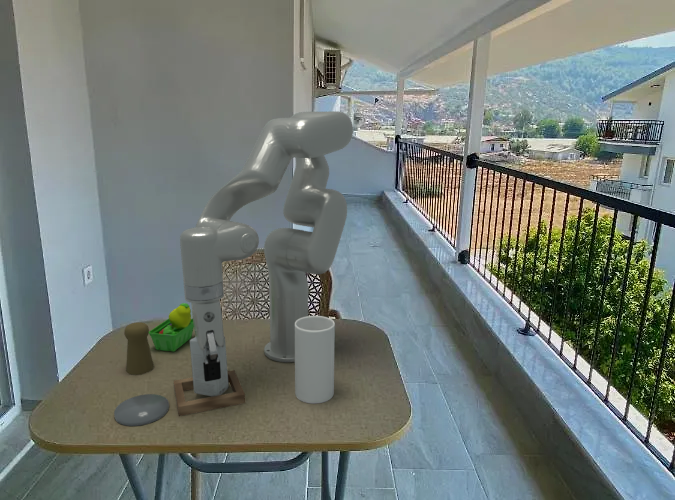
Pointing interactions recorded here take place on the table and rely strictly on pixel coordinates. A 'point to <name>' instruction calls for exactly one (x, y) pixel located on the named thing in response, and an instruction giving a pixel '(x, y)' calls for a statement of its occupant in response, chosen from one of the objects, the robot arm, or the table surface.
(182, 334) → the fruit basket
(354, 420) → the table surface
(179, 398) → the walnut holder
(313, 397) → the cup
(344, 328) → the table surface
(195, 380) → the skincare box
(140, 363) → the cork
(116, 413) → the slate coaster
